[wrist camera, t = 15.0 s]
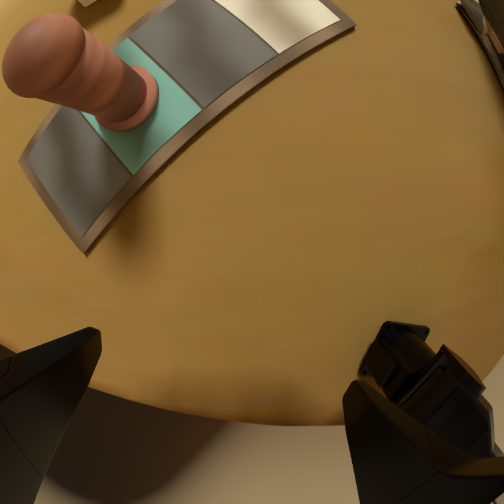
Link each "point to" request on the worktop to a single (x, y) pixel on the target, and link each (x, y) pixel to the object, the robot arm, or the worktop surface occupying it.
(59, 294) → the worktop surface
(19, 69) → the pawn
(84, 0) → the die
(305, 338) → the worktop surface
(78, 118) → the game board
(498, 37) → the radio
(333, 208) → the worktop surface
